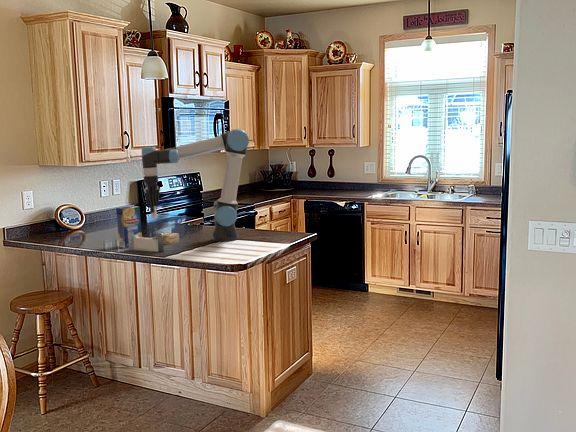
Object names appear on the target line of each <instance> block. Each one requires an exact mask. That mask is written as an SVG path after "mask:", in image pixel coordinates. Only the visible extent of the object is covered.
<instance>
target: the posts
mask: <svg viewBox="0 0 576 432" xmlns="http://www.w3.org/2000/svg"><path fill="white" fill-rule="evenodd" d="M163 234H164V233H163V232H158V233H156V237H157V240H158V250H150V249H134V250H133V251H136V252H138V251H139V252H154V253H157V252H158V253H164V252H165V248H164V247H165V245H164V244H163Z"/></svg>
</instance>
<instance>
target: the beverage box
mask: <svg viewBox="0 0 576 432" xmlns="http://www.w3.org/2000/svg"><path fill="white" fill-rule="evenodd" d="M140 208H141V207H140V206H137V205H128V206H123V207H116V208H115V209H116V210H115V211H116V221H117V224H116V225H117V235H118V247H120V248H125V249H127V248H128V249H129V240H128V232H134V236H135V235H138V237H143V235H142V234H143V233H142V222H141V221H142V220H141V209H140Z"/></svg>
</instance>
